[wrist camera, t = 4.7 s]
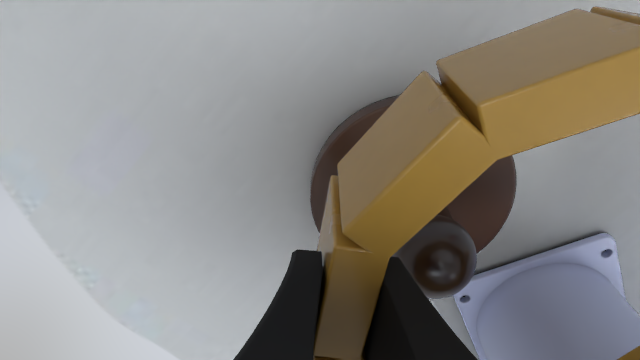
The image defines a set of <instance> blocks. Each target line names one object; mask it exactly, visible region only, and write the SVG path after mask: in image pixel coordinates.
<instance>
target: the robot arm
mask: <svg viewBox="0 0 640 360" xmlns="http://www.w3.org/2000/svg"><path fill="white" fill-rule="evenodd" d="M606 249H607V250H606ZM604 250H606V251H605V252H603V251H604ZM602 252H603V253H602ZM322 272H323V264H322V251H309V250H296V251H294V252H293V253H292V257H291V261H290V264H289V267H288V270H287V272H286V274H285V277H284V279H283V281H282V283H281V285H280V287H279V289H278V291H277V293H276V295H275V297H274V299H273V300H272V302H271V304H270V306H269V308H268V310H267V311H266V313H265V314H264V316H263V318H262V319H261V321H260V322H259V324H258V325H257V327H256V329H255V330H254V332H253V333H252V335H251V336H250V338H249V339H248V341H247V342H246V343H245V345H244V346H243V348H242V349H241V350H240V352H239V353H238V354H237V356H236V357H235V358H234V360H314V354H313V348H314V340H315V331H316V323H317V315H318V307H319V298H320V289H321V281H322ZM464 295H467V296H466V297H463V298H461V297H462V296H464ZM453 297H454V299H455V301H456V304H457V306H458V309H459V311H460V314H461V316H462V318H463V321H464V323H465V326H466V328H467V330H468V333H469V335H470V338H471V340H472V342H473V345H474V347H475V350H476V352H477V354H478V357H479V359H480V360H617V359H619V358H620V357H622V356H623V355H625V354H627V353H628V352H630V351H632V350H633V349H635V348H636V347H638V346H640V316H639V315H638V314H637V313H636V311H635V310H634V309H633V308H632V307H631V306H630V304H629V303H628V302H627V301H626V297H625V292H624V286H623V281H622V275H621V269H620V264H619V258H618V253H617V247H616V242H615V240H614V238H613V237H612V236H611V235H609V234H608V233H601V234H597V235H594V236H591V237H588V238H585V239H582V240H579V241H576V242H573V243H570V244H567V245H564V246H561V247H558V248H555V249H552V250H549V251H546V252H543V253H540V254H537V255H534V256H531V257H528V258H525V259H522V260H519V261H516V262H513V263H510V264H507V265H504V266H501V267H498V268H495V269H492V270H489V271H486V272H483V273H480V274H477V275H474V276H473V277H472V278H471V280H470V282H469V283H468V284H467V285H466V286H465V287H464V288H463V289H462V290H461V291H460V292H458V293H456V294H454V295H453ZM364 348H365V356H366V360H478V359H477V358H476V357H475V356H474V355H473V354H472V353H471V352H470V351H469V349H468V348H467V347H466V346H465V345H464V344H463V342H462V341H461V340H460V339H459V338H458V337H457V336H456V334H455V333H454V332H453V331H452V329H451V328H450V327H449V326H448V324H447V323H446V322H445V321H444V319H443V318H442V317H441V315H440V314H439V313H438V312H437V310H436V309H435V308H434V306H433V305H432V304H431V302H430V301H429V300H428V298H427V297H426V296H425V294H424V293H423V291H422V290H421V289H420V287H419V286H418V284H417V283H416V281H415V280H414V278H413V277H412V276H411V274H410V273H409V271H408V270H407V268H406V267H405V265H404V264H403V262H402V261H401V260H400V258H399V257H392V256H391V257H390V259H389V262H388V266H387V269H386V273H385V276H384V280H383V283H382V287H381V290H380V294H379V297H378V301H377V304H376V308H375V312H374V315H373V319H372V322H371V326H370V329H369V333H368V336H367V340H366V343H365V347H364Z"/></svg>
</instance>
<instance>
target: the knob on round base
mask: <svg viewBox="0 0 640 360" xmlns="http://www.w3.org/2000/svg"><path fill="white" fill-rule="evenodd" d="M399 96H400V95H399ZM399 96H395V97H391V98H386V99H384V100H381V101H378V102H375V103H373V104H371V105H369V106H367V107H365V108H363V109H361V110H359V111H358V112H356V113H355V114H353V115H352V116H350V117H349V118H348V119H346V120H345V121H344V122H343V123H342V124H341V125H340V126H338V127H337V129H336V130H335V131H334V132H333V133H332V134H331V135H330V136H329V138H328V139H327V141H326V142H325V144H324V145H323V147H322V149H321V151H320V153H319V155H318V157H317V159H316V162H315V165H314V168H313V173H312V179H311V209H312V214H313V218H314V221H315V224H316V226H317V229H318V231H319V233H320V230H321V225H322V220H323V214H324V209H325V203H326V198H327V193H328V187H329V182H330V177H331V176H332V175H336V176H338V169H337V165H338V163H339V162H340V161H341V159H342V158H343V157H344V156H345V155H346V154H347V153H348V152H349V151H350V150H351V149H352V147H353V146H354V145H355V144H356V143H357V142H358V141H359V140H360V139H361V138H362V136H363V135H364V134H365V133H366V132H367V131H368V130H369V129H370V128H371V127H372V126H373V124H374V123H375V122H376V121H377V120H378V119H379V118H380V117H381V116H382V115H383V114H384V112H385V111H386V110H387V109H388V108H389V107H390V106H391V105H392V104H393V103H394V101H395V100H396V99H397V98H398V97H399ZM515 191H516V169H515V164H514V160H513V157H512V155H511V156H508V157H505V158H502V159H499V160H497V161H495V162H494V163H493V164H492V165H491V166H490V167H489V168H488V169H487V170H486V171H485V172H483V173H482V174H481V175H480V176H479V177H478V178H477V179H476V180H475V181H474V182H472V183H471V184H470V185H469V186H468V187H467V188H466V189H465V190H464V191H463V192H461V193H460V194H459V195H458V196H457V197H456V198H455V199H454V200H453V201H452V202H451V203H449V204H448V205H447V206H446V207H445V208H444V209H443V210H442V211H441V212H440V213H438V214H437V215H436V216H435V217H434V218H433V219H432V220H431V221H430V222H429V223H428V224H426V225H425V226H424V227H423V228H422V229H421V230H420V231H419V232H418V233H417V234H415V235H414V236H413V237H412V238H411V239H410V240H409V241H408V242H407V243H406V244H405V245H403V246H402V247H401V248H400V249H399V250H398V251H397V252H396V253H395V254H394V255H392V257H399V258H400V260H401V261H402V262H403V264H404V265H405V267H406V268H407V270H408V271H409V273H410V274H411V276H412V277H413V278H414V280H415V281H416V283H417V284H418V286H419V287H420V289H421V290H422V291H423V293H424V294H425V296H426V297H427V298H431V299H441V298H446V297H450V296H452V295H454V294H456V293H458V292H460V291H461V290H462V289H463V288H464V287H465V286H466V285H467V284H468V283H469V282H470V280H471V278H472V277H473V274H474V272H475V269H476V263H477V253H478V252H480V251H481V250H482V249H483V248H485V247H486V246H487V245H488V244H489V243H490V242H491V240H492V239H493V238H494V237H495V236H496V235H497V233H498V232H499V231H500V229H501V228H502V226H503V225H504V223H505V221H506V219H507V218H508V215H509V213H510V211H511V208H512V205H513V201H514V198H515Z"/></svg>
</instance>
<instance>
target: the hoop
mask: <svg viewBox="0 0 640 360" xmlns="http://www.w3.org/2000/svg"><path fill="white" fill-rule="evenodd" d="M436 65H437V69H438V73H439V77H440V80H441V84H440V83H439V82H438V81H437V80H436V79H435V78H434V77H432V76H431V75H430V74H429V73H428V72H426V71H423V72H421V73H420V74H419V75H418V76H417V77H416V78H415V80H414V81H413V82H412V83H411V84H410V85H409V86H408V87H407V88H406V89H405V91H404V92H403V93H402V94H401V95H400V96H399V97H398V98H397V99H396V100H395V101H394V103H393V104H392V105H391V106H390V107H389V108H388V109H387V110H386V111H385V112H384V114H383V115H382V116H381V117H380V118H379V119H378V120H377V121H376V122H375V123H374V124H373V126H372V127H371V128H370V129H369V130H368V131H367V132H366V133H365V134H364V135H363V136H362V138H361V139H360V140H359V141H358V142H357V143H356V144H355V145H354V146H353V147H352V149H351V150H350V151H349V152H348V153H347V154H346V155H345V156H344V157H343V158H342V159H341V161H340V162H339V163H338V165H337V169H338V176H336V175H332V176H331V177H330V182H329V187H328V193H327V198H326V203H325V209H324V214H323V220H322V225H321V230H320V236H319V241H318V246H317V251H322V264H323V272H322V281H321V289H320V298H319V307H318V315H317V323H316V331H315V340H314V348H313V354H314V360H366V356H365V348H364V347H365V343H366V340H367V336H368V333H369V329H370V326H371V322H372V319H373V315H374V312H375V308H376V304H377V301H378V297H379V294H380V290H381V287H382V283H383V280H384V276H385V273H386V269H387V266H388V262H389V259H390V257H391V256H392V255H394V254H395V253H396V252H397V251H398V250H399V249H400V248H401V247H402V246H403V245H405V244H406V243H407V242H408V241H409V240H410V239H411V238H412V237H413V236H414V235H415V234H417V233H418V232H419V231H420V230H421V229H422V228H423V227H424V226H425V225H426V224H428V223H429V222H430V221H431V220H432V219H433V218H434V217H435V216H436V215H437V214H438V213H440V212H441V211H442V210H443V209H444V208H445V207H446V206H447V205H448V204H449V203H451V202H452V201H453V200H454V199H455V198H456V197H457V196H458V195H459V194H460V193H461V192H463V191H464V190H465V189H466V188H467V187H468V186H469V185H470V184H471V183H472V182H474V181H475V180H476V179H477V178H478V177H479V176H480V175H481V174H482V173H483V172H485V171H486V170H487V169H488V168H489V167H490V166H491V165H492V164H493V163H494V162H495V161H497V160H499V159H502V158H505V157H508V156H511V155H514V154H517V153H520V152H523V151H526V150H529V149H532V148H535V147H538V146H541V145H545V144H548V143H551V142H554V141H557V140H560V139H563V138H566V137H569V136H572V135H575V134H578V133H581V132H584V131H587V130H590V129H594V128H597V127H600V126H603V125H606V124H609V123H612V122H615V121H618V120H621V119H624V118H627V117H630V116H633V115H636V114H640V14H638V13H632V12H626V11H620V10H615V9H609V8H603V7H597V6H595V7H593V8H592V9H591V11H590V12H588V11H585V10H581V9H573V10H571V11H568V12H565V13H563V14H560V15H557V16H555V17H552V18H549V19H547V20H544V21H541V22H539V23H536V24H533V25H531V26H528V27H525V28H523V29H520V30H517V31H514V32H512V33H509V34H506V35H504V36H501V37H498V38H496V39H493V40H490V41H488V42H485V43H482V44H480V45H477V46H474V47H472V48H469V49H466V50H464V51H461V52H458V53H456V54H453V55H450V56H447V57H445V58H442V59H439V60H438V61H436ZM617 360H640V346H638V347H636V348H635V349H633V350H632V351H630V352H628V353H627V354H625V355H623V356H622V357H620V358H619V359H617Z"/></svg>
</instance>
